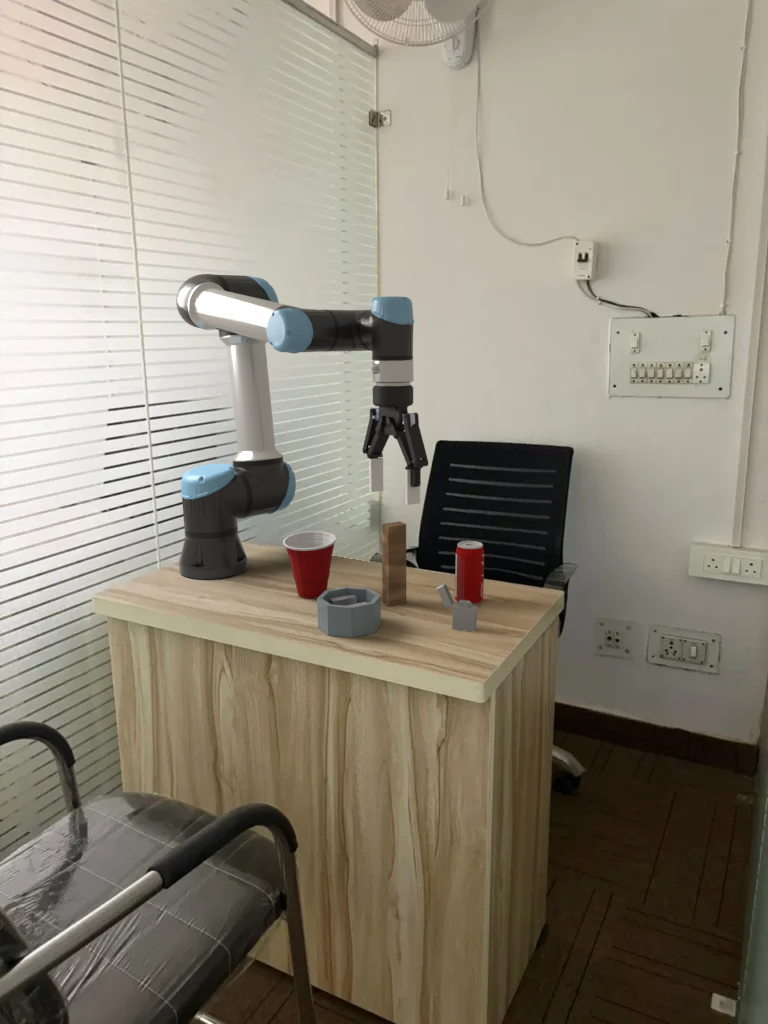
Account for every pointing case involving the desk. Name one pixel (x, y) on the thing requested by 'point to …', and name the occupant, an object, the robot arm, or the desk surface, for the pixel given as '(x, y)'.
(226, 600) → the desk surface
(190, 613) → the desk surface
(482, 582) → the soda can
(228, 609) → the desk surface
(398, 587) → the brown wooden block
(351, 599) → the clip
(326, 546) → the plastic cup
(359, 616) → the grey faceted bowl
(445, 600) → the lighter
